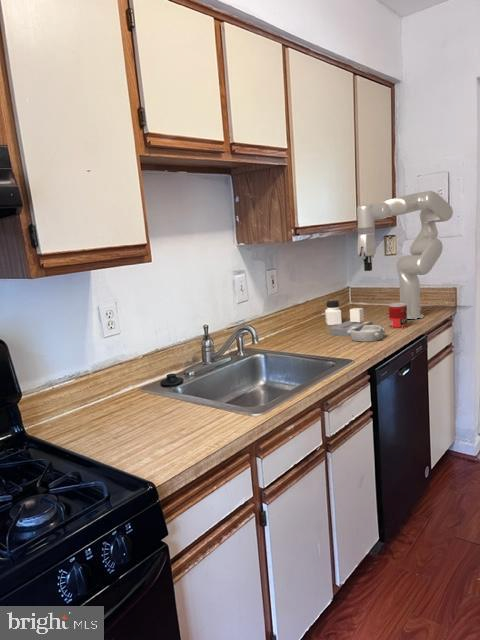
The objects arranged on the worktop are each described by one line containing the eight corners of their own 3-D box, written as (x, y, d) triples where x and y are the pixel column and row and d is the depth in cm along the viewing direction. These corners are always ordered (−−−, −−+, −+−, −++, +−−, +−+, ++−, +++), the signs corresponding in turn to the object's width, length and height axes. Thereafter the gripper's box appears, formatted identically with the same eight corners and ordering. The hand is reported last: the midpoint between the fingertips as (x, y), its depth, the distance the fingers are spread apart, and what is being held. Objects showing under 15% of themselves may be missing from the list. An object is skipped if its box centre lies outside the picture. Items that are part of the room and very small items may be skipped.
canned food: (404, 329, 217) (403, 305, 215) (387, 328, 222) (386, 305, 220) (409, 325, 223) (408, 302, 221) (392, 325, 228) (392, 302, 226)
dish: (344, 341, 206) (343, 330, 205) (361, 334, 215) (360, 323, 215) (374, 344, 196) (374, 332, 195) (390, 337, 205) (390, 325, 204)
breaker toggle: (354, 320, 230) (353, 308, 229) (363, 320, 227) (363, 308, 226) (350, 321, 227) (349, 309, 226) (359, 322, 224) (359, 309, 223)
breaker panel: (350, 325, 235) (349, 319, 234) (372, 327, 227) (372, 321, 226) (329, 334, 220) (328, 328, 219) (352, 336, 212) (352, 329, 212)
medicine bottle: (342, 324, 240) (340, 301, 238) (328, 325, 241) (326, 302, 239) (339, 321, 247) (338, 299, 245) (325, 322, 248) (324, 300, 246)
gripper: (366, 231, 229) (368, 269, 233) (351, 233, 218) (353, 272, 222) (381, 230, 224) (382, 268, 228) (366, 232, 213) (368, 272, 217)
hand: (368, 270), depth 225 cm, fingers closed
